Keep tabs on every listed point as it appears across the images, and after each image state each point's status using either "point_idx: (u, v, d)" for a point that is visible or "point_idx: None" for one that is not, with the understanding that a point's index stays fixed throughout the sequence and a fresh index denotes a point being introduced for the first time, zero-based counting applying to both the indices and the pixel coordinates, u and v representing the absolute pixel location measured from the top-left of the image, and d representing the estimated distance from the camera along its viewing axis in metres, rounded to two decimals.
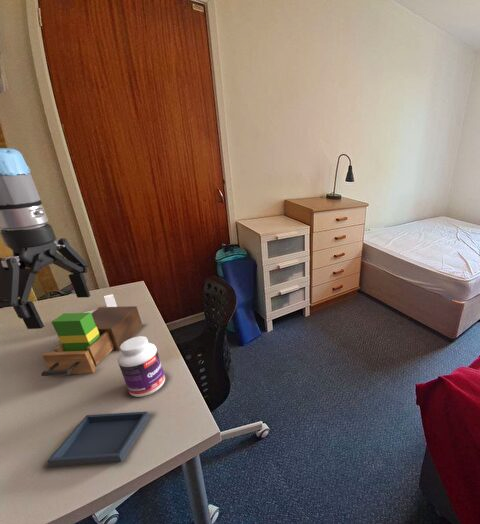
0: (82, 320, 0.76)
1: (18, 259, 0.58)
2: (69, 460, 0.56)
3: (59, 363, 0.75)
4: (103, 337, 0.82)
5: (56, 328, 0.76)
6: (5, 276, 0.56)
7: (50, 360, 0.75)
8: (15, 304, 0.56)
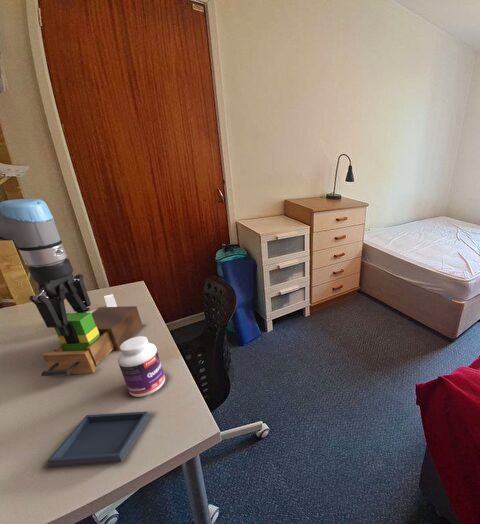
0: (82, 320, 0.76)
1: (45, 292, 0.69)
2: (69, 460, 0.56)
3: (59, 363, 0.75)
4: (103, 337, 0.82)
5: (56, 328, 0.76)
6: (42, 308, 0.69)
7: (50, 360, 0.75)
8: (60, 325, 0.72)
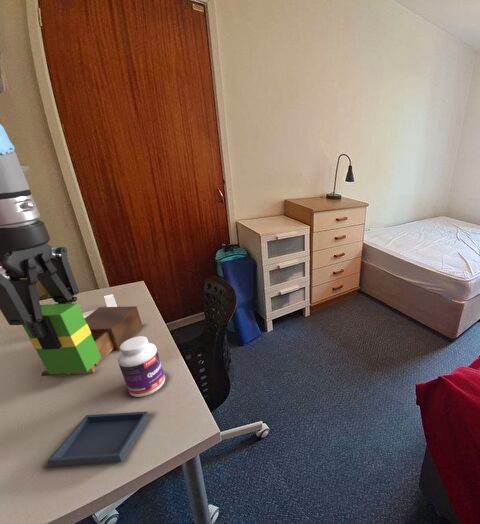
0: (64, 314, 0.51)
1: (3, 270, 0.44)
2: (69, 460, 0.56)
3: None
4: (103, 337, 0.82)
5: (26, 326, 0.51)
6: None
7: None
8: (30, 321, 0.47)
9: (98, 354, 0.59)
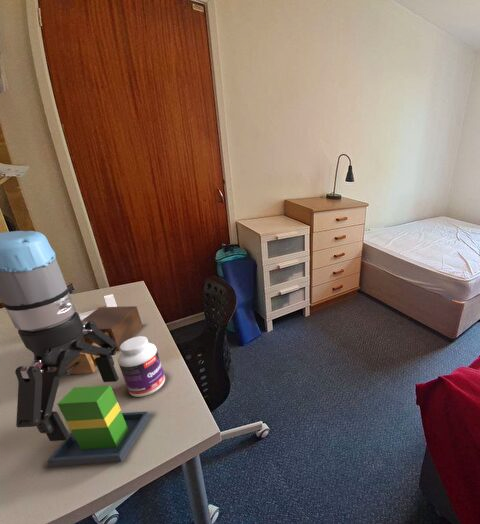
0: (100, 400, 0.55)
1: (41, 364, 0.47)
2: (69, 460, 0.56)
3: None
4: None
5: (64, 412, 0.55)
6: (25, 390, 0.45)
7: None
8: (37, 423, 0.46)
9: (126, 427, 0.62)
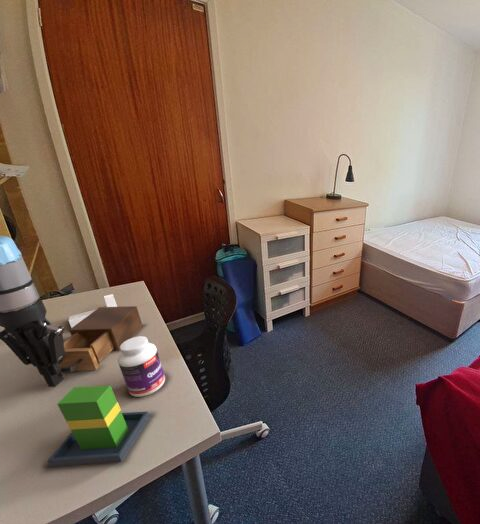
0: (100, 400, 0.55)
1: None
2: (69, 460, 0.56)
3: (63, 360, 0.76)
4: (106, 335, 0.83)
5: (64, 412, 0.55)
6: (58, 341, 0.68)
7: None
8: None
9: (126, 427, 0.62)
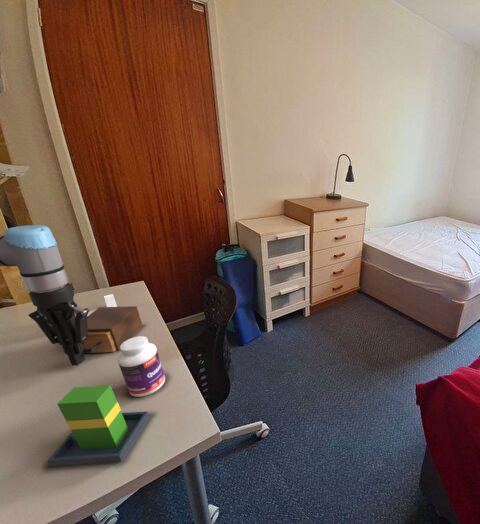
0: (100, 400, 0.55)
1: None
2: (69, 460, 0.56)
3: (83, 342, 0.83)
4: None
5: (64, 412, 0.55)
6: (83, 322, 0.75)
7: None
8: None
9: (126, 427, 0.62)
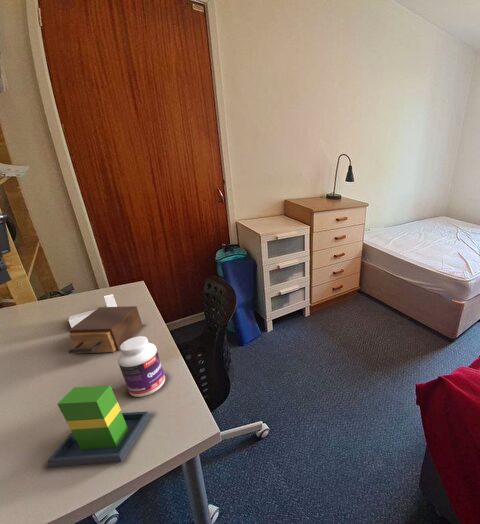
0: (100, 400, 0.55)
1: None
2: (69, 460, 0.56)
3: (83, 342, 0.83)
4: None
5: (64, 412, 0.55)
6: (0, 230, 0.63)
7: (75, 340, 0.82)
8: None
9: (126, 427, 0.62)
